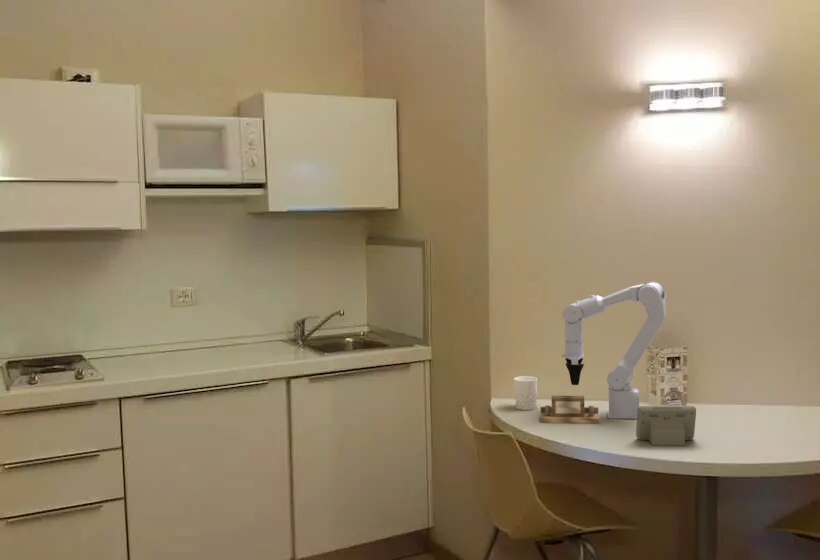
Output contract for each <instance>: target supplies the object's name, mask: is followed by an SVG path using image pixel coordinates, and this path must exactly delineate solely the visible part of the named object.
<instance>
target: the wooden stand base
mask: <svg viewBox="0 0 820 560" xmlns="http://www.w3.org/2000/svg"><path fill="white" fill-rule="evenodd" d="M584 413H585V417H552V406H550V405H544V406H540V415H539V416H540V418H539V419H540V420H539V421H540V422H541V423H543V424H545V423H547V424H549V423H551V424H552V423H554V424H555V423H556V424H557V423H559V424H562V423H563V424H600V415H599V407H597V406H596V407H595V406H594V405H589V406H584Z"/></svg>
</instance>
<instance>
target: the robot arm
mask: <svg viewBox="0 0 820 560" xmlns="http://www.w3.org/2000/svg"><path fill="white" fill-rule="evenodd" d="M666 298H667V296H666V292H665V290H664V287H663V286H662V285H661V284H660V283H659V282H657V281H649V282H647V283H646V284H645V283H641V284H636V285H633V286H629V287H627V288H624V289H621V290H619V291H616V292H614V293H611V294H608V295H606V296H600V295H599V294H597V295H595V294H591V295H589V297H588V298H585V299H583V300H579V299H578V300H576V301H575V302H574V303H571V304H568V305H567V306H565V307H564V308H563V310H562V318H563V319H564V351H565V353H562V354H561V358H565V361H566V362H565V367H566V369H567V370H568V373H569V378H570V384H571V386H579V384H580V378H581V373H582V370H583V368H584V366H585V363H582V362H583V360H584V357H585V354H584V328H583V327H584V326H583V319H588V318H590V317H593V316H597V315H598V314H603V313H605V310H606V308H607V307H609V306H613V305H615V304H619V303H622V302H626V301H628V300H630V301H634V302H638V301H639V302H640V303H641V305H642V306H643V307H644V308H645V311H646V314H647V317H646V320H645V322H644V323H643V325H642V327H641V328H640V330H639V331H638V333H636V336H635V338H634V339H633V341H632V343H631V344H630V346H629V347H628V348H627V351H626V352H625V354H624V355H623V357H622V359H620V361H619V363H618V364H617V365H616V366H615V367H614V368H613V369H612V370H611V371H610V372H609V373H608V374H607V377H606V381H607V385H608V410H606V414H607V417H608V419H625V420H626V419H627V420H630V419H634V420H635V419H636V420H637V409H638V407H640V391H639V388H638V387H637V388H635V387H634V388H633V385H632V384H631V382H632V379H633V375H634V371H635V369H636V367H637V364H639V361H640V360H641V358H642V357H643V355H644V353H645V352H646V351H647V349H648V347H649V345H650V344H651V343H652V341H653V339H654V337H655V336H656V334H657V333H658V331H659V329H660V328H661V326H662V324H663V323H664V322H665V320H666V318H667V305H666Z"/></svg>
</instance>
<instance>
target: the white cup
mask: <svg viewBox="0 0 820 560" xmlns="http://www.w3.org/2000/svg"><path fill="white" fill-rule="evenodd" d="M513 386H514V387H513V388H514V399H515V407H516V409H517V408H518V409H517V410H520V409H521V411H533V410H536V409H537V406H538V404H537V399H538V377H536V376H532V375H521V376H519V375H518V376H515V377H514V378H513Z"/></svg>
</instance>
